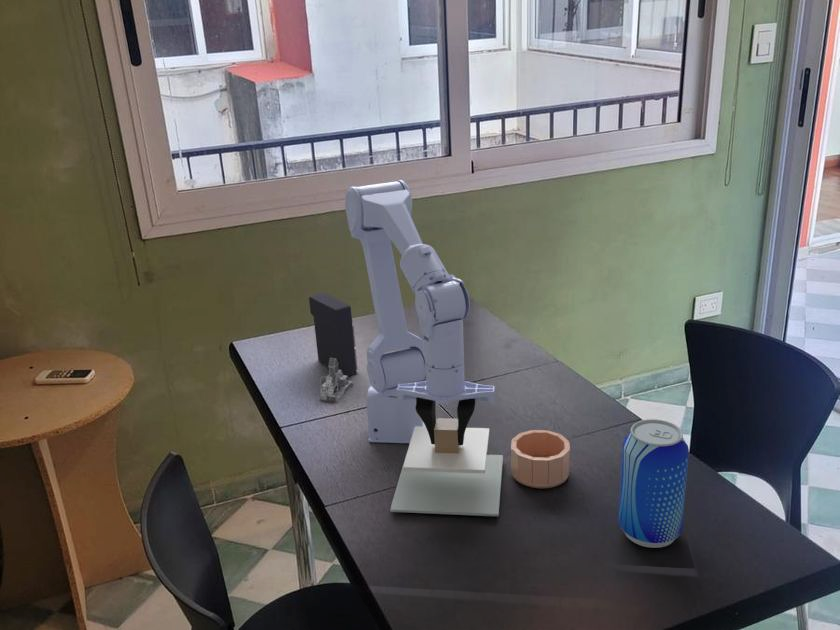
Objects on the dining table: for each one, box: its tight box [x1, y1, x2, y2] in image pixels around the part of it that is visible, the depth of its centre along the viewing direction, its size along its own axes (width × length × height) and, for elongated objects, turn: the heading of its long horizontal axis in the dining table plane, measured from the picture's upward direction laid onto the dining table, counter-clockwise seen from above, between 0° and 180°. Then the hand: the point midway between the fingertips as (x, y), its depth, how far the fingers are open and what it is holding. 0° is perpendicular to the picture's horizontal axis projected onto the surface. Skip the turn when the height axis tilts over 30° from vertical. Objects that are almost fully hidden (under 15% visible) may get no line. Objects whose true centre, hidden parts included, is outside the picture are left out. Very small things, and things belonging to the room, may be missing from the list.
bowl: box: [510, 429, 571, 489], centre depth 122 cm, size 9×9×5 cm
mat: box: [389, 452, 504, 517], centre depth 121 cm, size 16×16×1 cm
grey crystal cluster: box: [319, 358, 354, 403], centre depth 153 cm, size 9×9×8 cm
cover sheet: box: [402, 417, 490, 474], centre depth 118 cm, size 12×12×5 cm
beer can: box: [618, 418, 690, 549], centre depth 105 cm, size 8×8×16 cm
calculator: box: [308, 292, 358, 377], centre depth 161 cm, size 11×4×15 cm, turn 37°
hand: (447, 441), depth 119 cm, fingers closed on cover sheet, 3 cm apart
